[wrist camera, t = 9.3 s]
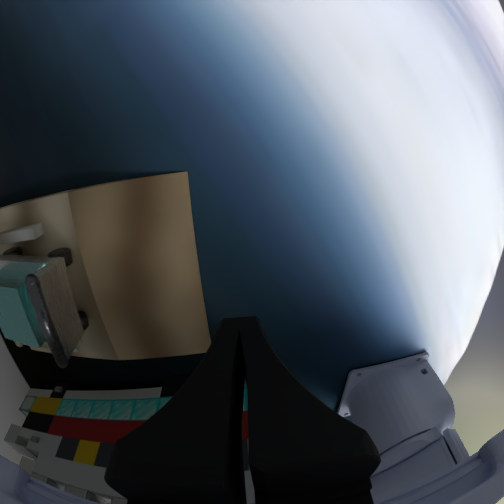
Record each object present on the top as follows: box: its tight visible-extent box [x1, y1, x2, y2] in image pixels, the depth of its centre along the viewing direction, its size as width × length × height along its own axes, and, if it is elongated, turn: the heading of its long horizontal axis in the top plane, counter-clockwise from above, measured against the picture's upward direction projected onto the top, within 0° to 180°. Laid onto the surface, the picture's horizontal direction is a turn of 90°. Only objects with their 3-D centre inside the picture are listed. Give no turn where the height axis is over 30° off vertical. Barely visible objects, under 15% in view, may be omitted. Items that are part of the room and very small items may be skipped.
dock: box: [0, 171, 211, 360], centre depth 18 cm, size 19×14×4 cm
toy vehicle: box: [4, 374, 255, 504], centre depth 18 cm, size 8×30×15 cm, turn 104°
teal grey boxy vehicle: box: [0, 247, 89, 368], centre depth 15 cm, size 7×7×5 cm
